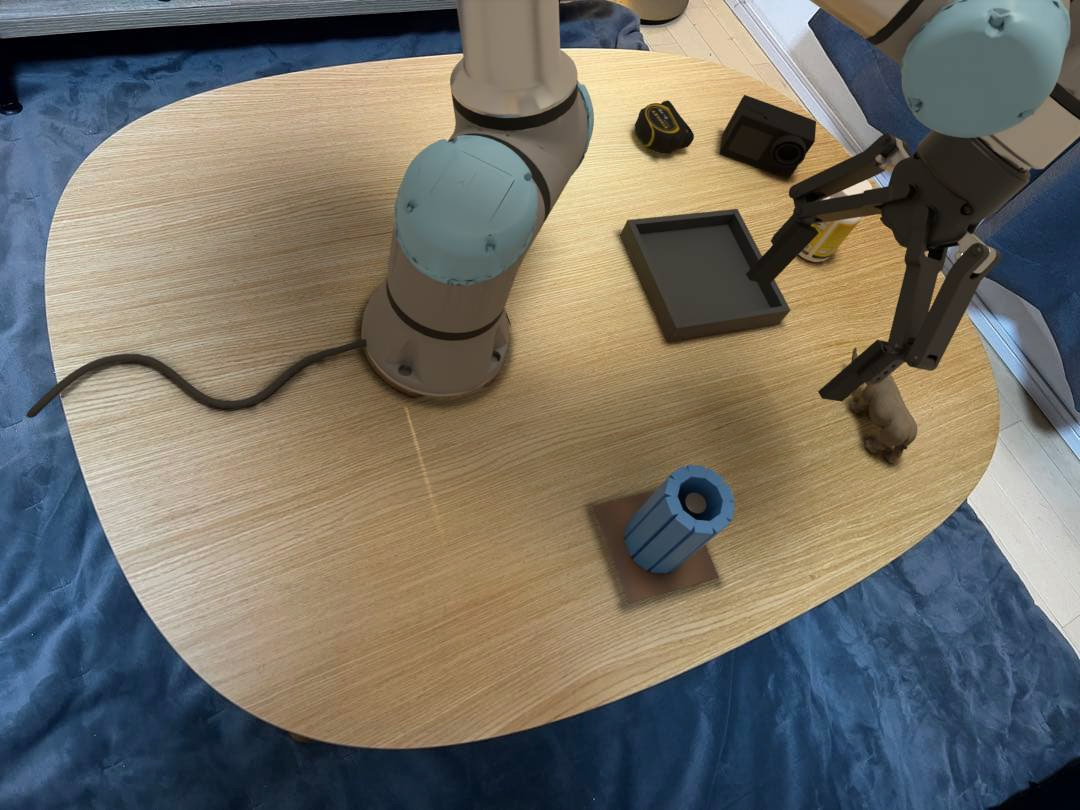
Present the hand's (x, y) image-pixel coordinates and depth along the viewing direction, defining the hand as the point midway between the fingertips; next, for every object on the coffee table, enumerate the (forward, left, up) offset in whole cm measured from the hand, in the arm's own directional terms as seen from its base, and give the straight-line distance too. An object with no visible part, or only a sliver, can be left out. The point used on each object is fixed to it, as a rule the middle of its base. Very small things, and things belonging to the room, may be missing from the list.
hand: (791, 335), depth 74 cm
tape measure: (+13, +43, -21) cm, 50 cm away
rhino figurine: (+22, -1, -21) cm, 31 cm away
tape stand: (-10, -10, -21) cm, 25 cm away
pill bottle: (+27, +23, -21) cm, 42 cm away
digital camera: (+26, +38, -21) cm, 51 cm away
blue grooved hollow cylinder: (-10, -10, -20) cm, 24 cm away
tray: (+9, +20, -21) cm, 30 cm away
